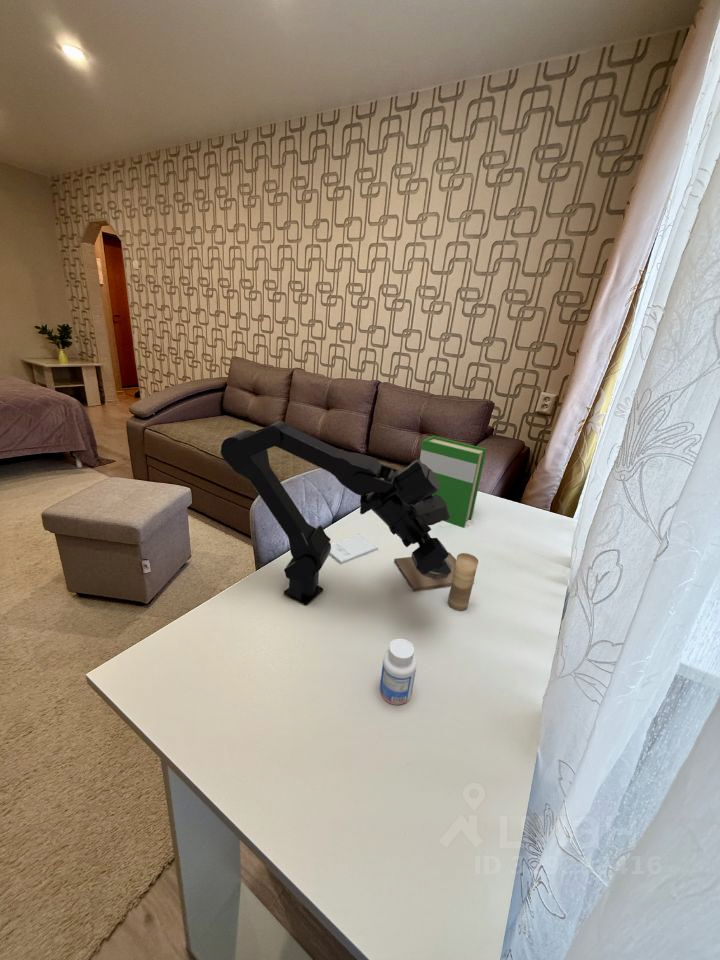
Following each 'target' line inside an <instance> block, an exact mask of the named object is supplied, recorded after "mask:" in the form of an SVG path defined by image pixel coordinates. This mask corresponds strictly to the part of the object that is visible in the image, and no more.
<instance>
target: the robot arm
mask: <svg viewBox="0 0 720 960" xmlns="http://www.w3.org/2000/svg"><path fill="white" fill-rule="evenodd" d="M274 447H276V448H278V449H281V450H283V451H285V452H286V453H289V454H291V455H292V456H295V457H297V458H299V459H302V460H304V461H305V462H308V463H310V464H312V465H314V466H316V467H318V468H320V469H321V470H323V471H326V472H328V473H330V474H331V475H333V476H334V477H335V479H336V480H337V481H338V482H339V483H340V484H341V485H342V486H343V487H344V488H346V489H348V490H349V491H351V492H352V493H354V494H356V495H357V496H360V500H359V503H360V508H359V514H360V515H364V514H366V513H367V512H369V511H372V512H373V513H374V514H375V515H377V516H378V518H379V519H380V520H381V521H383V523H384V524H386V525H387V527H388V529H389V531H390V533H392V535H393V536H394V535H396V536H397V537H399V539H401V542H402V545H404V547H406V548H408V547H409V546H411V545H414V544H416V543H417V544H418V547H417V548H416V549H414V550H413V551H412V552H411V556H410V557H411V559H412V561H413V563H414V565H415V567H416V569H417V570H418V571H419V572H420V573H421V574H427V573H428V572H429V571H430V572H436V573H441V574H446V575H448V574H449V573H451V570H450V568H449V566H448V565H447V563H446V561H445V559H446V558H447V557H448V554H449V553H448V550H447V548H446V547H445V546H444V544H443V543H442V542H441V540H439V538H438V537H431V535H430V534H429V532H430V531H432V528H431V527H430V526H433V525H436V524H439V523H441V522H445V520H448V519H449V518H450V514H449V511H448V508H447V504H446V502H445V501H444V500H443V499H442V497H441V496H438V495H437V494H434V493H435V492H437V491H439V490H440V484H439V481H438V479H437V477H436V476H435V474H434V473H433V471H432V470H431V469H429V468H428V467H427V466H426V465H425V464H423V463H422V462H421V461H420V458H417V459H415V460H413V461H412V462H411V463H410V464H409V465H407V466H406V467H405V468H403V469H402V470H399V469H398V468H394V467H391V466H388V465H385V464H381V462H380V461H379V459H377V458H376V457H374V456H373V457H372V456H369V455H366V454H363V453H358V452H350V451H344V450H341V449H339V448H336V447H334V446H332V445H330V444H328V443H325V442H324V441H321V440H320V439H318V438H316V437H314V436H312V435H310V434H307V433H305V432H303V431H301V430H299V429H297V428H294V427H293V426H291V425H289V424H288V423H287V422H286V421H282V420H281V421H280V420H279V421H276V422H274V423H272V424H271V425H268V426H266V427H263V428H260V429H258V430H251V429H244V430H241V431H239V432H237V433H236V434H233V435H231V436H229V437H227V438H225V439H224V440H223V441H222V443H221V447H220V456H221V458H223V459H222V460H224V461H225V463H226V464H227V465H228V466H229V467H230V468H231V469H232V471H233V472H235V473H237V474H238V475H240V476H242V477H243V478H245V479H247V480H248V481H249V483H251V485H252V486H253V488H254V490H255V491H256V492H257V494H258V495H259V498H261V499H262V501H263V502H264V504H265V506H266V507H267V508H268V510H269V511H270V513H271V514H272V516H273V517H274V518H275V520H276V522H277V523H278V525H279V526H280V528H281V529H282V531H283V532H284V533H285V535H286V537H287V539H288V542H289V543H288V544H289V550H290V554H291V555H290V556H292V557H291V559H290V561H289V562H288V564H287V565H286V566H285V568H284V570H283V571H284V574H285V577H286V579H288V580H289V581H288V583H289V584H288V587H287V588H285V590H284V591H283V595H285V596H287V597H288V598H289V599H292V600H294V601H296V602H297V603H300V604H301V605H304V606H308V605H309V604H310V603H311V602H313V600H314V599H315V598H317V596H319V595H320V594H321V593H322V592H323V591H324V587H323V586H320V585H318V584H319V575H320V573H319V572H320V571H321V569H322V567H323V566H324V564H325V562H326V560H327V559H328V557H329V556H330V555H329V554H330V551H331V544H332V543H331V538H330V537H329V536H328V535H327V534H326V532H325V530H324V527H323V526H322V525H318V526H316V527H315V526H313V525H310V524H309V523H308V522H307V521H306V519H305V518H304V516H303V515H302V513H301V512H300V510H299V509H298V507H297V506H296V504H295V502H294V501H293V499H292V498H291V497H290V495H289V493H288V491H286V489H285V487H284V486H283V484H282V482H281V481H280V480H279V478H278V477H277V475H276V474H275V472H274V471H273V469H272V468H271V464H270V458H269V453H268V450H269V449H271V448H274ZM432 494H434V495H435V496H433V495H432ZM417 503H418V504H417ZM415 504H417V505H415ZM443 520H444V521H443Z"/></svg>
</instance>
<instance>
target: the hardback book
mask: <svg viewBox="0 0 720 960" xmlns="http://www.w3.org/2000/svg"><path fill="white" fill-rule="evenodd" d="M421 443H422V444H421V450H420V456H419V460H420V461H421V462H422V463H423V464H425V465H426V466H427V467H428V468H429V469H431V470H432V471H433V473H434V474H435V476H436V477H437V479H438V481H439V484H440V490H439V491H437V492H435V493H434V494H437V495H438V496H441V497H442V499H443V500H444V501H445V502H446V504H447V508H448V511H449V514H450V518H449V519H448V520H445V521H444V520H443V521H442V522H445V523H449V524H451V525H454V526H457V527H460V528H462V529H464V528H465V526H466V522H467V521H468V520H469V521H471V520H472V518H473V514H474V511H475V505H476V500H477V497H478V496H477V495H478V491H479V486H480V483H481V479H482V478H481V477H482V472H483V469H484V463H485V458H486V453H487V449H488V448H485V447H481V446H476V445H472V444H468V443H464V442H460V441H456V440H452V439H448V438H443V437H439V436H435V435H432V436H431V435H430V436H429V437H427V438H425V439H422V442H421ZM434 494H432V495H433V496H435V495H434ZM417 504H418V503H417ZM417 504H415V505H417Z"/></svg>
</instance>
